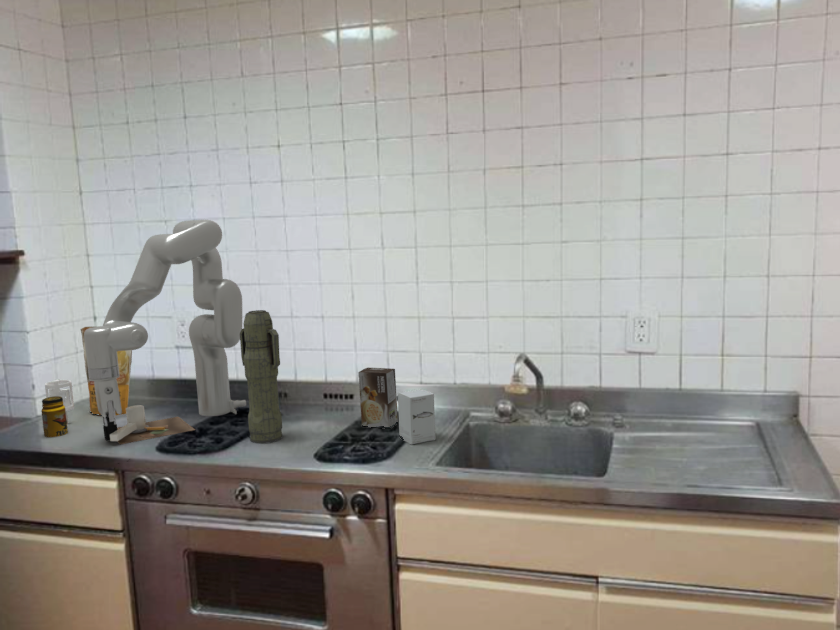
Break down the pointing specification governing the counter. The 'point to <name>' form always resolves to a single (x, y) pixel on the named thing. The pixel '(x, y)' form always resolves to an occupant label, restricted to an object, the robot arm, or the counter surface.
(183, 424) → the brown square board
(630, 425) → the counter surface
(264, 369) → the thermos
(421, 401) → the supplement box
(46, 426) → the condiment
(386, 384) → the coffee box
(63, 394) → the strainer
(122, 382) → the pancake mix bag
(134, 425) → the white handled piece
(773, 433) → the counter surface
